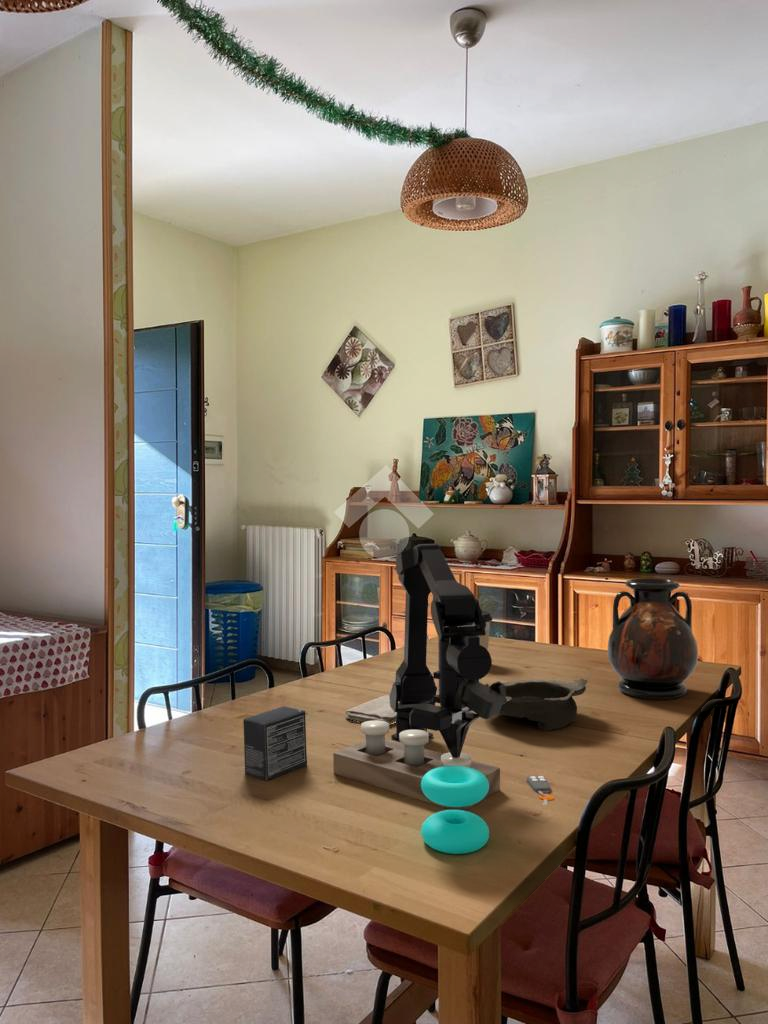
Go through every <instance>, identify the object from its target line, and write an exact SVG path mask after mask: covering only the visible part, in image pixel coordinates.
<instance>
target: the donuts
mask: <svg viewBox="0 0 768 1024" xmlns="http://www.w3.org/2000/svg"><path fill="white" fill-rule="evenodd" d="M421 788H422V791H423V793H424V794H425V796H426V797H427V798H428V799H430V800H431V801H433V802H435V803H437V804H440V805H444V806H449V807H464V806H469V805H473V804H475V803H477V804H478V803H480V802H481V800H482V799H483V798H484V797H485V796H486V795H487V793H488V790H489V783H488V780H487V778H486V777H485V775H483V774H482V773H481V772H479V771H477V770H475V769H472V768H469V767H463V766H443V767H438V768H435V769H432V770H430V771H429V772H427V773H426V774H425V775H424V776H423V778H422V781H421ZM479 801H480V802H479ZM482 801H483V800H482ZM475 805H476V804H475ZM473 806H474V805H473ZM489 829H490V828H489V825H488V824H487V823H486V820H484V819H483V818H482V817H480V815H477V814H475V813H473V812H471V811H467V810H465V811H463V810H451V809H446V810H445V809H444V810H441V811H440V810H439V811H437V812H435V813H432V814H431V815H429V816H428V817H427V818H426V819H425V820H424V821H423V823H422V825H421V829H420V830H421V831H420V833H421V837H422V839H423V841H424V843H425V844H426V845H428V846H429V847H430V848H431V849H433V850H435V851H439V852H441V853H445V854H453V855H455V854H456V855H459V854H460V855H461V854H469V853H473V852H476V851H478V850H480V849H482V848H483V847H484V846H485V845H486V844H487V843H488V841H489V838H490V830H489Z"/></svg>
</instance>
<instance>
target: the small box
mask: <svg viewBox="0 0 768 1024" xmlns="http://www.w3.org/2000/svg"><path fill="white" fill-rule="evenodd" d="M242 721H243V747H244V749H243V751H244V754H243V755H244V775H247V776H250V777H253V778H255V779H259V780H261V781H262V780H263V781H265V782H268V781H270V780H273V779H275V778H278V777H280V776H283V775H285V774H288V773H290V772H293V771H295V770H297V769H301V768H302V767H306V766H308V757H307V756H308V755H307V729H306V728H307V727H306V723H307V722H306V710H303V709H298V708H295V707H288V706H284V705H283V706H280V707H277V708H273V709H271V710H268V711H264V712H262V713H259V714H256V715H252V716H249V717H245V718H243V720H242Z"/></svg>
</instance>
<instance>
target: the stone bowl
mask: <svg viewBox="0 0 768 1024" xmlns="http://www.w3.org/2000/svg"><path fill="white" fill-rule="evenodd" d="M502 683H503V684H505V688H506V699H507V702H506V703H505V704H503V705H502V706H501V709H500V712H499V715H500V714H501V715H502V716H503V715H504V716H508V717H514V718H518V719H519V718H520V719H521V718H527V720H529V721H533V722H537V726H538V728H539V730H542V731H545V730H546V731H547V732H549V731H548V730H550V731H552V730H558V729H561V728H565V727H567V726H569V724H572V723H573V722H575V721H576V719H577V718H578V706H577V702H576V701H575V699H574V698H573V697H577V696H580V695H583V694H584V693H585V691H586V689H587V686H586V684H587V683H588V680H587V679H584V678H580V679H579V680H577V679H575V680H573V681H570V680H566V679H548V678H547V679H546V678H545V679H520V680H509V681H504V682H502ZM491 685H492V684H489V686H488V687H490V686H491Z"/></svg>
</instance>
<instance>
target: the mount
mask: <svg viewBox="0 0 768 1024" xmlns="http://www.w3.org/2000/svg"><path fill="white" fill-rule="evenodd" d="M443 754H444V753H442V752H439V751H436V750H435V751H434V750H430V749H427V748H424V764H423V765H421V766H417V767H414V766H410V765H407V764H404V744H402V743H400V742H399V741H395V740H391V739H388V738H385V753H384V754H381V755H379V756H374V755H370V754H367V753H366V739H365V740H363V741H360V742H358V743H355V744H353V745H350V746H347V747H345V748H342V749H340V750H337V751H335V752H333V759H332V760H333V774H334V775H338V776H341V777H344V778H347V779H351V780H353V781H357V782H360V783H363V784H367V785H369V786H373V787H376V788H380V789H383V790H386V791H390V792H392V793H396V794H399V795H403V796H406V797H409V798H413V799H416V800H420V801H422V802H426V803H429V804H432V805H435V806H438V807H441V808H444V809H447V810H463V811H467V810H468V809H470V808H472V807H474V806H475V805H476V804H478V803H480V802H481V801H484V800H485V799H487V798H488V797H490V796H492V795H494V794H495V793H497V792H499V791H500V790H501V768H500V767H498V766H493V765H489V764H487V763H481V762H479V761H473V760H471V766H470V767H469V768H472V769H475V770H477V771H479V772H481V773H482V774H483V775H485V777H486V778H487V780H488V783H489V790H488V793H487V795H486V796H485V797H484V798H483V799H482V800H481V801H479V802H478V803H475V804H473V805H469V806H464V807H449V806H444V805H440V804H437V803H435V802H433V801H431V800H430V799H428V798H427V797H426V796H425V794H424V793H423V791H422V788H421V781H422V778H423V776H424V775H425V774H426V773H427V772H429V771H430V770H432V769H435V768H438V767H443V766H442V765H441V755H443Z"/></svg>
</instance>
